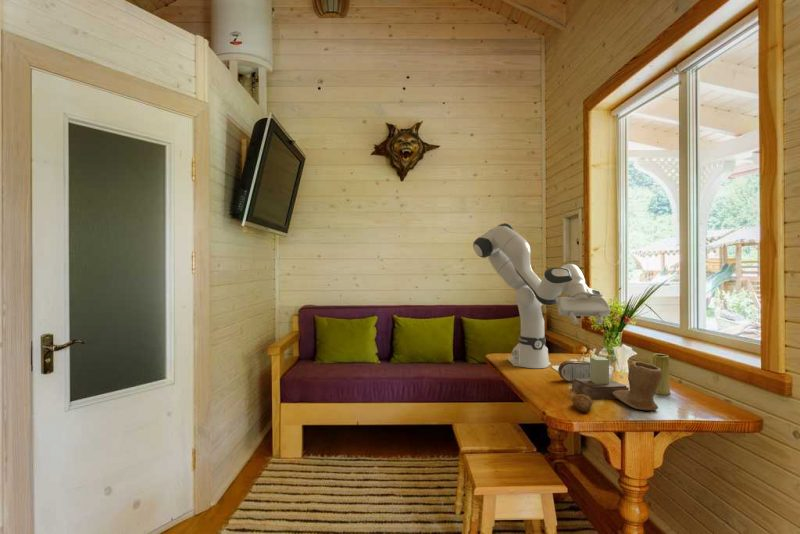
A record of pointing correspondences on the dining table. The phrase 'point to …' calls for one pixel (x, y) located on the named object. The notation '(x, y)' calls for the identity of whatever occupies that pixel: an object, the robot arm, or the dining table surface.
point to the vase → (663, 364)
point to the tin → (574, 370)
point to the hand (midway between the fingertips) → (588, 323)
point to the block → (599, 370)
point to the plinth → (597, 388)
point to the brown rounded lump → (582, 402)
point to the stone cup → (641, 386)
